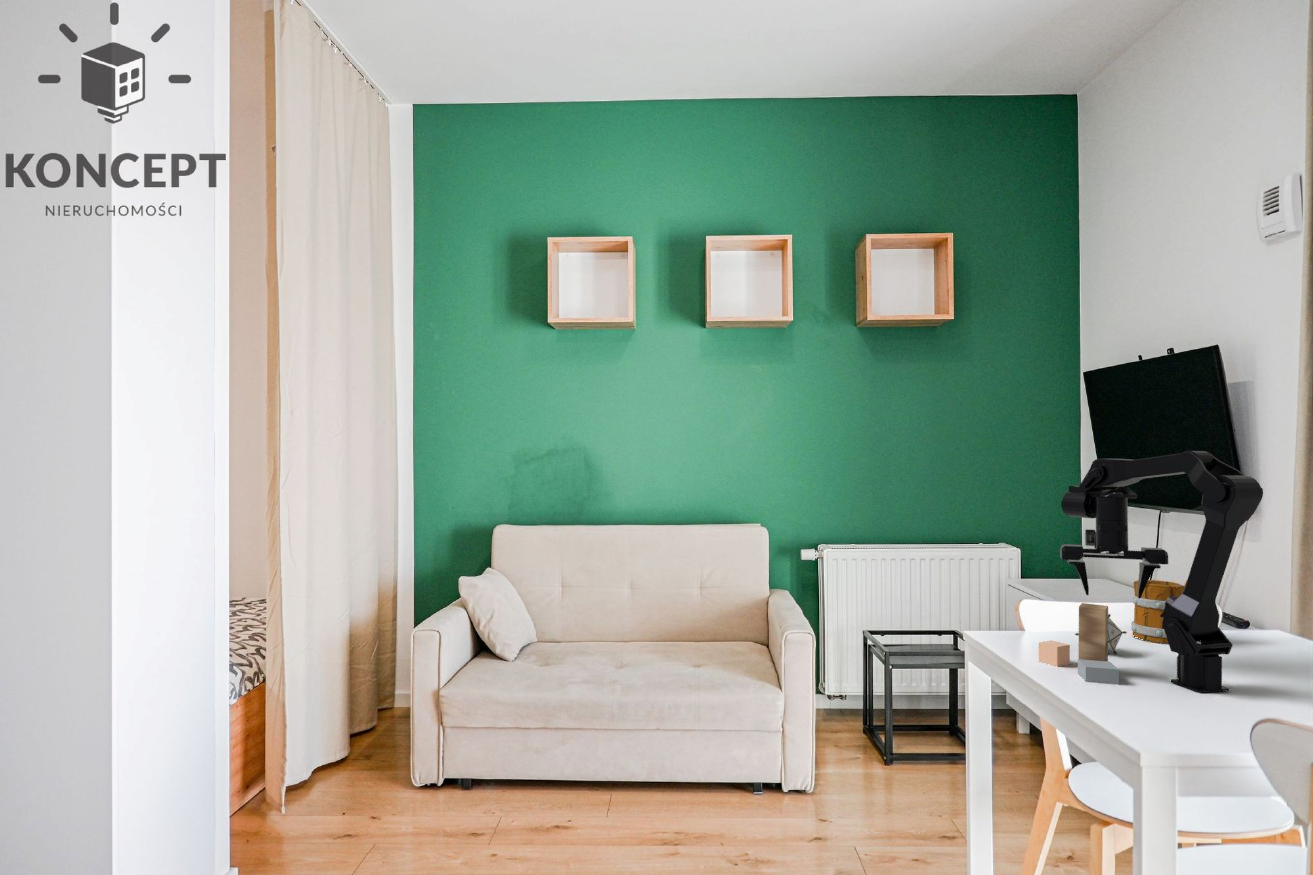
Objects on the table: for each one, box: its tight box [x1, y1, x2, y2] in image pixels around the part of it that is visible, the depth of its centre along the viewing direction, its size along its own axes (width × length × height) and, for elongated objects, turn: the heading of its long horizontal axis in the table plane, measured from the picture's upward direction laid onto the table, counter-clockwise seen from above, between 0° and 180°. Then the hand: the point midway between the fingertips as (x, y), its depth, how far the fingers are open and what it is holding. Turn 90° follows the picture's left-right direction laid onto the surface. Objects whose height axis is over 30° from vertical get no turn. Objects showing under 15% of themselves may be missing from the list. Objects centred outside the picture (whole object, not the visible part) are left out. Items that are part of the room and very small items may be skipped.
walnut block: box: [1078, 602, 1109, 662], centre depth 153 cm, size 4×4×12 cm
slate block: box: [1077, 658, 1120, 685], centre depth 147 cm, size 6×6×3 cm
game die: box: [1074, 613, 1128, 655], centre depth 167 cm, size 9×8×10 cm
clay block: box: [1038, 640, 1071, 667], centre depth 158 cm, size 4×4×4 cm
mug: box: [1130, 579, 1187, 645], centre depth 180 cm, size 11×16×15 cm, turn 88°
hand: (1112, 596), depth 160 cm, fingers open, 9 cm apart
